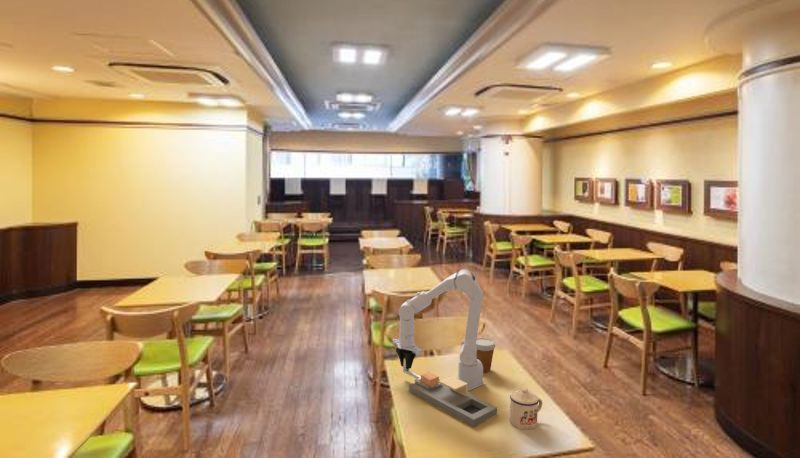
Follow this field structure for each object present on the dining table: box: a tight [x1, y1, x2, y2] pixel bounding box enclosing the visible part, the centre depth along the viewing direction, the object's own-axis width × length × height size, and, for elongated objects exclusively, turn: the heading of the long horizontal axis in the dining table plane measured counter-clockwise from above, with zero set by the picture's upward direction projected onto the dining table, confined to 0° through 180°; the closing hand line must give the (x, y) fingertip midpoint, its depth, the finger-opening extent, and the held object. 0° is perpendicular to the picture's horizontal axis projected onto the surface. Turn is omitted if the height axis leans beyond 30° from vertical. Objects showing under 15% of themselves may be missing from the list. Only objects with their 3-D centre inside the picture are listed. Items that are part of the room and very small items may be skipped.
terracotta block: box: [420, 371, 440, 386], centre depth 176 cm, size 5×4×4 cm
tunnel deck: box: [408, 375, 498, 428], centre depth 168 cm, size 31×12×7 cm, turn 41°
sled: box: [402, 357, 442, 390], centre depth 180 cm, size 18×6×6 cm, turn 41°
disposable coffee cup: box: [476, 337, 496, 374], centre depth 195 cm, size 10×10×12 cm
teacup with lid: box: [509, 387, 543, 430], centre depth 156 cm, size 12×9×12 cm
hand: (406, 367), depth 186 cm, fingers closed on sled, 2 cm apart
